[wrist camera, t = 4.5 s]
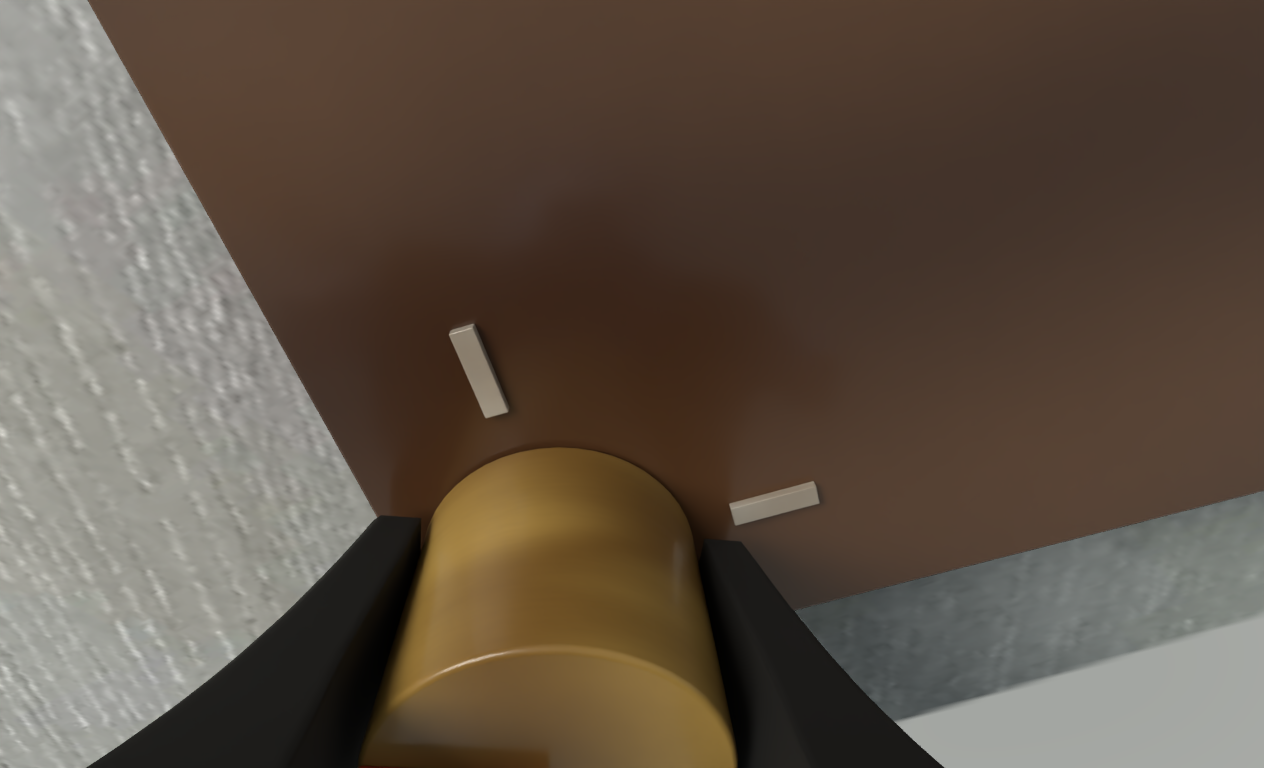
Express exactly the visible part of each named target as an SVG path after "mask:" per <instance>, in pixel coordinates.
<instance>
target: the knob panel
mask: <svg viewBox="0 0 1264 768" xmlns="http://www.w3.org/2000/svg"><path fill="white" fill-rule="evenodd" d="M88 2H89V3H90V5H91V7H92V9H93V11H94V12H95V14H96V16H97V18H98V19H99V21H100V23H101V25H102V27H103V28H104V30H105V32H106V34H107V36H108V37H109V39H110V41H111V43H112V44H113V46H114V48H115V50H116V52H117V53H118V55H119V57H120V59H121V61H122V62H123V64H124V66H125V68H126V69H127V71H128V73H129V75H130V77H131V78H132V80H133V82H134V84H135V86H136V87H137V89H138V91H139V93H140V94H141V96H142V98H143V100H144V102H145V103H146V105H147V107H148V109H149V110H150V112H151V114H152V116H153V118H154V119H155V121H156V123H157V125H158V127H159V128H160V130H161V132H162V134H163V135H164V137H165V139H166V141H167V143H168V144H169V146H170V148H171V150H172V152H173V153H174V155H175V157H176V159H177V160H178V162H179V164H180V166H181V168H182V169H183V171H184V173H185V175H186V177H187V178H188V180H189V182H190V184H191V185H192V187H193V189H194V191H195V193H196V194H197V196H198V198H199V200H200V202H201V203H202V205H203V207H204V209H205V210H206V212H207V214H208V216H209V218H210V219H211V221H212V223H213V225H214V227H215V228H216V230H217V232H218V234H219V235H220V237H221V239H222V241H223V243H224V244H225V246H226V248H227V250H228V251H229V253H230V255H231V257H232V259H233V260H234V262H235V264H236V266H237V268H238V269H239V271H240V273H241V275H242V276H243V278H244V280H245V282H246V284H247V285H248V287H249V289H250V291H251V293H252V294H253V296H254V298H255V300H256V301H257V303H258V305H259V307H260V309H261V310H262V312H263V314H264V316H265V318H266V319H267V321H268V323H269V325H270V326H271V328H272V330H273V332H274V334H275V335H276V337H277V339H278V341H279V343H280V344H281V346H282V348H283V350H284V351H285V353H286V355H287V357H288V359H289V360H290V362H291V364H292V366H293V368H294V369H295V371H296V373H297V375H298V376H299V378H300V380H301V382H302V384H303V385H304V387H305V389H306V391H307V393H308V394H309V396H310V398H311V400H312V401H313V403H314V405H315V407H316V409H317V410H318V412H319V414H320V416H321V417H322V419H323V421H324V423H325V425H326V426H327V428H328V430H329V432H330V434H331V435H332V437H333V439H334V441H335V442H336V444H337V446H338V448H339V450H340V451H341V453H342V455H343V457H344V459H345V460H346V462H347V464H348V466H349V467H350V469H351V471H352V473H353V475H354V476H355V478H356V480H357V482H358V484H359V485H360V487H361V489H362V491H363V492H364V494H365V496H366V498H367V500H368V501H369V503H370V505H371V507H372V509H373V510H374V512H375V514H376V516H377V517H379V516H380V515H386V516H399V517H413V518H421V549H422V546H423V542H424V539H425V536H426V533H427V529H428V526H429V523H430V521H431V519H432V517H433V515H434V513H435V511H436V509H437V508H438V506H439V505H440V503H441V502H442V500H443V499H444V498H445V496H446V495H447V494H448V493H449V492H450V491H451V490H452V489H453V488H454V487H455V486H456V485H457V484H458V483H459V482H461V481H462V480H463V479H464V478H466V477H467V476H468V475H470V474H471V473H473V472H474V471H476V470H478V469H479V468H481V467H483V466H484V465H486V464H488V463H491V462H493V461H495V460H497V459H500V458H502V457H505V456H508V455H511V454H515V453H518V452H522V451H527V450H533V449H538V448H552V447H567V448H580V449H587V450H593V451H597V452H601V453H605V454H608V455H612V456H615V457H617V458H620V459H622V460H624V461H627V462H629V463H631V464H633V465H635V466H636V467H638V468H640V469H642V470H644V471H645V472H646V473H648V474H649V475H650V476H652V477H653V478H655V479H656V480H657V481H658V482H660V483H661V484H662V485H663V486H664V487H665V488H666V489H667V490H668V491H669V492H670V493H671V495H672V496H673V497H674V498H675V500H676V501H677V502H678V504H679V505H680V507H681V509H682V510H683V512H684V514H685V516H686V518H687V520H688V523H689V526H690V529H691V531H692V536H693V541H694V545H695V550H696V555H697V560H698V564H699V560H700V555H701V551H702V546H703V542H704V539H714V540H728V541H741V542H742V543H743V544H744V546H745V547H746V548H747V550H748V551H749V552H750V554H751V555H752V556H753V558H754V559H755V560H756V562H757V563H758V564H759V566H760V567H761V568H762V570H763V571H764V572H765V574H766V575H767V576H768V578H769V579H770V580H771V582H772V583H773V584H774V586H775V587H776V588H777V590H778V591H779V592H780V594H781V595H782V596H783V597H784V599H785V600H786V601H787V603H788V604H789V605H790V607H791V608H792V609H793V610H798V609H802V608H806V607H810V606H814V605H818V604H822V603H826V602H830V601H834V600H837V599H841V598H845V597H849V596H853V595H857V594H861V593H865V592H869V591H873V590H877V589H881V588H885V587H889V586H892V585H896V584H900V583H904V582H908V581H912V580H916V579H920V578H924V577H928V576H932V575H936V574H940V573H943V572H947V571H951V570H955V569H959V568H963V567H967V566H971V565H975V564H979V563H983V562H987V561H991V560H994V559H998V558H1002V557H1006V556H1010V555H1014V554H1018V553H1022V552H1026V551H1030V550H1034V549H1038V548H1042V547H1046V546H1049V545H1053V544H1057V543H1061V542H1065V541H1069V540H1073V539H1077V538H1081V537H1085V536H1089V535H1093V534H1097V533H1100V532H1104V531H1108V530H1112V529H1116V528H1120V527H1124V526H1128V525H1132V524H1136V523H1140V522H1144V521H1148V520H1151V519H1155V518H1159V517H1163V516H1167V515H1171V514H1175V513H1179V512H1183V511H1187V510H1191V509H1195V508H1199V507H1202V506H1206V505H1210V504H1214V503H1218V502H1222V501H1226V500H1230V499H1234V498H1238V497H1242V496H1246V495H1250V494H1254V493H1257V492H1261V491H1264V0H88Z"/></svg>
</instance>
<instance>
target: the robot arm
mask: <svg viewBox="0 0 1264 768" xmlns="http://www.w3.org/2000/svg"><path fill="white" fill-rule="evenodd" d="M420 552H421V518H413V517H399V516H386V515H380V516H379V517H378V518H376V519H375V520H374V521H373V522H372V523H371V524H370V525H369V526H368V527H367V529H366V530H365V531H364V532H363V533H362V534H361V535H360V537H359V538H358V539H357V540H356V541H355V542H354V543H353V544H352V546H351V547H350V548H349V549H348V550H347V551H346V552H345V553H344V554H343V555H342V556H341V558H340V559H339V560H338V561H337V562H336V563H335V564H334V565H333V566H332V567H331V568H330V569H329V570H328V571H327V572H326V573H325V574H324V575H323V576H322V577H321V578H320V579H319V580H318V581H317V582H316V583H315V584H314V585H313V586H312V587H311V588H310V589H309V590H308V591H307V592H306V593H305V594H304V595H303V596H302V597H301V598H300V599H299V600H298V601H297V602H296V603H295V604H294V605H293V606H292V607H291V608H290V609H289V610H288V611H287V612H286V613H285V614H284V615H283V616H282V617H281V618H280V619H279V620H277V621H276V622H275V623H274V624H273V625H272V626H271V627H270V628H269V629H267V630H266V631H265V632H264V633H263V634H262V635H261V636H260V637H259V638H257V639H256V640H255V641H254V642H253V643H252V644H251V645H250V646H249V647H247V648H246V649H245V650H244V651H243V652H242V653H241V654H239V655H238V656H237V657H236V658H235V659H234V660H232V661H231V662H230V663H229V664H228V665H226V666H225V667H224V668H223V669H222V670H220V671H219V672H218V673H217V674H215V675H214V676H213V677H212V678H210V679H209V680H208V681H207V682H206V683H204V684H203V685H202V686H200V687H199V688H198V689H196V690H195V691H194V692H193V693H191V694H190V695H189V696H187V697H186V698H185V699H184V700H182V701H181V702H180V703H178V704H177V705H176V706H174V707H173V708H172V709H170V710H169V711H168V712H166V713H165V714H163V715H162V716H160V717H159V718H158V719H156V720H155V721H153V722H152V723H151V724H149V725H148V726H146V727H145V728H144V729H142V730H141V731H139V732H138V733H137V734H135V735H134V736H132V737H131V738H130V739H128V740H127V741H125V742H124V743H123V744H121V745H120V746H118V747H117V748H115V749H114V750H112V751H111V752H109V753H108V754H106V755H105V756H103V757H102V758H100V759H99V760H97V761H96V762H94V763H93V764H91V765H90V766H88V767H87V768H357V767H358V756H359V752H360V749H361V745H362V742H363V739H364V735H365V732H366V729H367V725H368V722H369V719H370V716H371V712H372V709H373V706H374V703H375V699H376V696H377V693H378V689H379V686H380V683H381V680H382V676H383V673H384V670H385V667H386V663H387V660H388V657H389V654H390V650H391V647H392V644H393V640H394V637H395V634H396V631H397V627H398V624H399V621H400V618H401V614H402V611H403V608H404V604H405V601H406V598H407V595H408V591H409V588H410V585H411V582H412V578H413V575H414V572H415V569H416V565H417V562H418V559H419V555H420ZM699 569H700V574H701V579H702V584H703V588H704V593H705V598H706V603H707V608H708V612H709V617H710V622H711V627H712V632H713V636H714V641H715V646H716V651H717V655H718V660H719V665H720V670H721V675H722V679H723V684H724V689H725V694H726V699H727V703H728V708H729V713H730V718H731V722H732V727H733V732H734V737H735V742H736V748H737V753H738V768H944V767H943V766H942V765H941V764H939V763H938V762H937V761H936V760H935V759H934V758H933V757H932V756H930V755H929V754H928V753H927V752H926V751H925V750H924V749H922V748H921V747H920V746H919V745H918V744H917V743H916V742H915V741H913V740H912V738H910V737H909V736H908V735H907V734H906V733H905V732H904V731H903V730H902V729H901V728H900V727H899V726H898V725H897V724H896V723H895V722H894V721H893V720H892V719H891V718H889V717H888V716H887V715H886V714H885V713H884V712H883V711H882V710H881V709H880V708H879V707H878V706H877V705H876V704H875V703H874V702H873V701H872V700H871V699H870V698H869V697H868V696H867V695H866V694H865V693H864V692H863V691H862V690H861V689H860V687H859V686H858V685H857V684H856V683H855V682H854V681H853V680H852V679H851V678H850V676H849V675H848V674H847V673H846V672H845V671H844V670H843V669H842V668H841V667H840V666H839V664H838V663H837V662H836V661H835V660H834V659H833V658H832V657H831V655H830V654H829V653H828V652H827V651H826V650H825V648H824V647H823V646H822V645H821V644H820V642H819V641H818V640H817V639H816V638H815V636H814V635H813V634H812V633H811V631H810V630H809V629H808V628H807V627H806V625H805V624H804V623H803V622H802V620H801V619H800V618H799V617H798V615H797V614H796V613H795V612H794V610H793V609H792V608H791V607H790V605H789V604H788V603H787V601H786V600H785V599H784V597H783V596H782V595H781V594H780V592H779V591H778V590H777V588H776V587H775V586H774V584H773V583H772V582H771V580H770V579H769V578H768V576H767V575H766V574H765V572H764V571H763V570H762V568H761V567H760V566H759V564H758V563H757V562H756V560H755V559H754V558H753V556H752V555H751V554H750V552H749V551H748V550H747V548H746V547H745V546H744V544H743V543H742V542H741V541H728V540H714V539H704V542H703V546H702V551H701V555H700V560H699Z"/></svg>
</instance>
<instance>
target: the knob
mask: <svg viewBox="0 0 1264 768" xmlns="http://www.w3.org/2000/svg"><path fill="white" fill-rule="evenodd" d="M357 768H738V753H737V748H736V742H735V737H734V732H733V727H732V722H731V718H730V713H729V708H728V703H727V699H726V694H725V689H724V684H723V679H722V675H721V670H720V665H719V660H718V655H717V651H716V646H715V641H714V636H713V632H712V627H711V622H710V617H709V612H708V608H707V603H706V598H705V593H704V588H703V584H702V579H701V574H700V569H699V564H698V560H697V555H696V550H695V545H694V541H693V536H692V531H691V529H690V526H689V523H688V520H687V518H686V516H685V514H684V512H683V510H682V509H681V507H680V505H679V504H678V502H677V501H676V500H675V498H674V497H673V496H672V495H671V493H670V492H669V491H668V490H667V489H666V488H665V487H664V486H663V485H662V484H661V483H660V482H658V481H657V480H656V479H655V478H653V477H652V476H650V475H649V474H648V473H646V472H645V471H644V470H642V469H640V468H638V467H636V466H635V465H633V464H631V463H629V462H627V461H624V460H622V459H620V458H617V457H615V456H612V455H608V454H605V453H601V452H597V451H593V450H587V449H580V448H567V447H552V448H538V449H533V450H527V451H522V452H518V453H515V454H511V455H508V456H505V457H502V458H500V459H497V460H495V461H493V462H491V463H488V464H486V465H484V466H483V467H481V468H479V469H478V470H476V471H474V472H473V473H471V474H470V475H468V476H467V477H466V478H464V479H463V480H462V481H461V482H459V483H458V484H457V485H456V486H455V487H454V488H453V489H452V490H451V491H450V492H449V493H448V494H447V495H446V496H445V498H444V499H443V500H442V502H441V503H440V505H439V506H438V508H437V509H436V511H435V513H434V515H433V517H432V519H431V521H430V523H429V526H428V529H427V533H426V536H425V539H424V542H423V546H422V549H421V552H420V555H419V559H418V562H417V565H416V569H415V572H414V575H413V578H412V582H411V585H410V588H409V591H408V595H407V598H406V601H405V604H404V608H403V611H402V614H401V618H400V621H399V624H398V627H397V631H396V634H395V637H394V640H393V644H392V647H391V650H390V654H389V657H388V660H387V663H386V667H385V670H384V673H383V676H382V680H381V683H380V686H379V689H378V693H377V696H376V699H375V703H374V706H373V709H372V712H371V716H370V719H369V722H368V725H367V729H366V732H365V735H364V739H363V742H362V745H361V749H360V752H359V756H358V767H357Z"/></svg>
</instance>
